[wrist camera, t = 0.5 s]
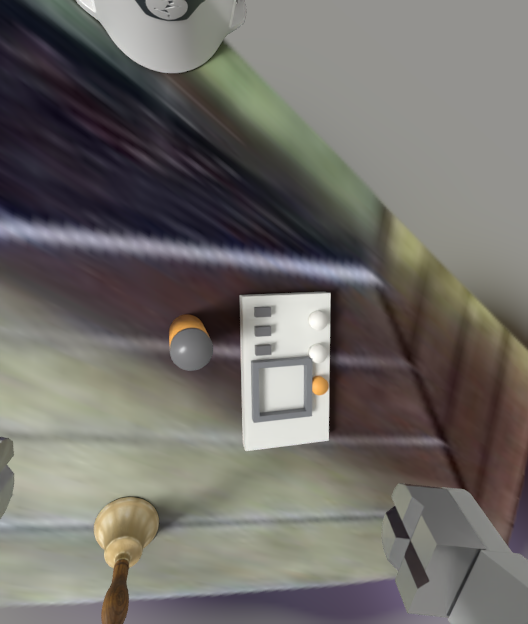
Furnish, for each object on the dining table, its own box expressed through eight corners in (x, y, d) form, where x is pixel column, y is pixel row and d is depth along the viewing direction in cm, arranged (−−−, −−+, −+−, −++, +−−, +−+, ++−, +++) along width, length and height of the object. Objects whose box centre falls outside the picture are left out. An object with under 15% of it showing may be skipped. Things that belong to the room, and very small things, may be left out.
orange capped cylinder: (168, 315, 51) (168, 330, 42) (203, 313, 52) (212, 327, 43) (170, 349, 52) (170, 372, 42) (205, 347, 53) (213, 368, 43)
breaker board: (239, 295, 53) (244, 297, 50) (324, 291, 56) (334, 294, 53) (242, 444, 56) (247, 455, 53) (323, 434, 59) (332, 444, 56)
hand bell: (162, 545, 56) (160, 657, 40) (98, 559, 54) (71, 682, 39) (155, 490, 54) (151, 585, 39) (90, 503, 53) (58, 607, 37)
